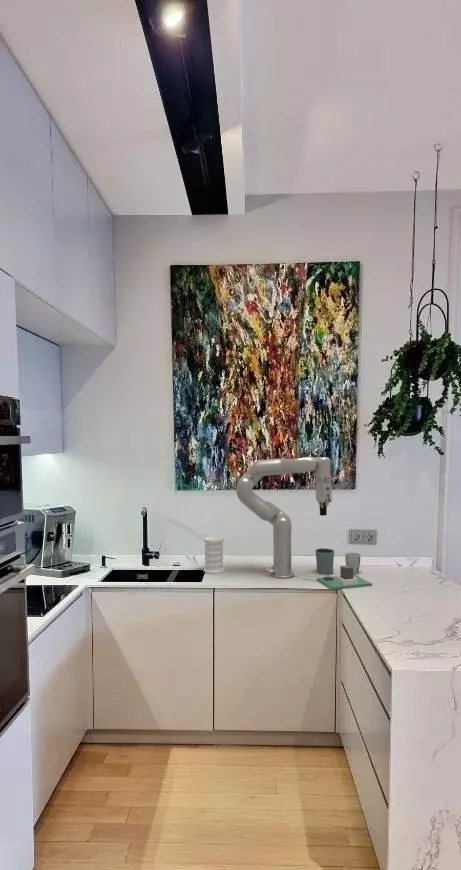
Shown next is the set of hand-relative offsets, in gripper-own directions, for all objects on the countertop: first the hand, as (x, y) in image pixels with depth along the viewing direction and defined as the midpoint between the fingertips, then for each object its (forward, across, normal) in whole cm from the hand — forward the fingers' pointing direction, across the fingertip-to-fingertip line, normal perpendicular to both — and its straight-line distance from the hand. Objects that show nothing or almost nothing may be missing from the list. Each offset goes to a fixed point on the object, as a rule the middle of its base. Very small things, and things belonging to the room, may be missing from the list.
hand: (323, 515), depth 251 cm
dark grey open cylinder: (+32, +6, -4) cm, 33 cm away
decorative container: (+32, +26, +53) cm, 67 cm away
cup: (+32, +1, -18) cm, 37 cm away
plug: (+30, -17, -4) cm, 35 cm away
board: (+32, -14, -4) cm, 35 cm away
